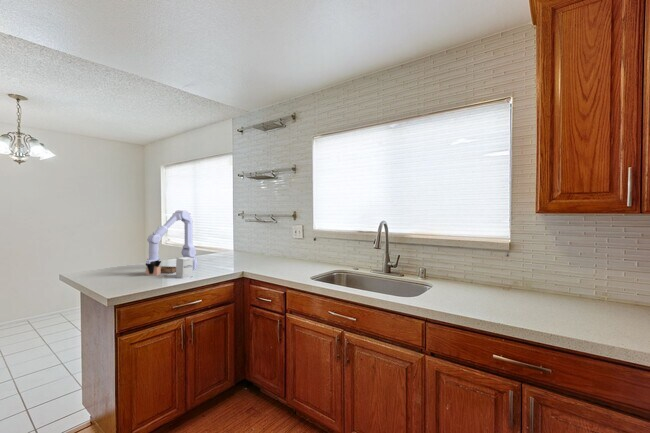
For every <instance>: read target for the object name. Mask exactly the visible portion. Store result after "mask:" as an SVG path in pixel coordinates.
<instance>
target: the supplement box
mask: <svg viewBox="0 0 650 433" xmlns="http://www.w3.org/2000/svg"><path fill="white" fill-rule="evenodd" d="M175 260H176V262H175V264H176V265H175V267H176V272H175V278H180V279H187V278H192V277H193V271H194V270H193V258H189V257H183V256H182V257H177V258H176V259H175Z"/></svg>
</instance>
